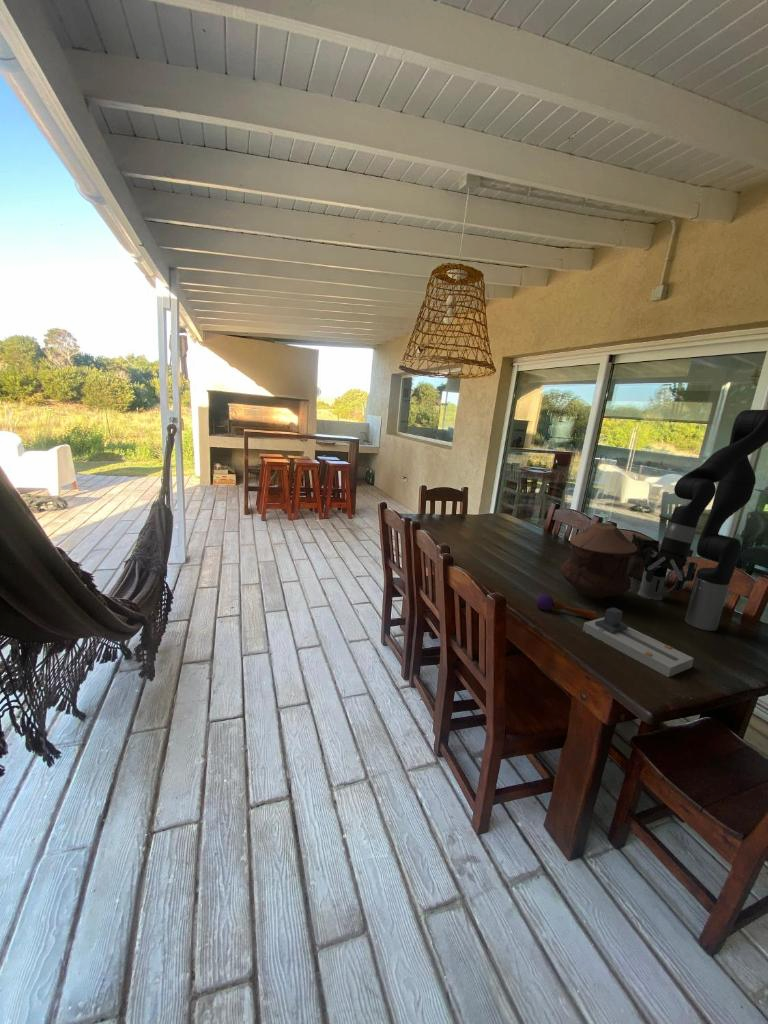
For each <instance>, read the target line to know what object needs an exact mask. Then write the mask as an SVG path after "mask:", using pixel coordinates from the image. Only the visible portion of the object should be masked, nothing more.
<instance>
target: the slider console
mask: <svg viewBox="0 0 768 1024" xmlns="http://www.w3.org/2000/svg"><path fill="white" fill-rule="evenodd" d="M604 618H605V616H604V617H601V618H597V619H596V618H595V620H589V621H585V622H584V623H583V627H582V632H584V631H585V632H584V633H586V634H588V635H589V634H590V635H589V636H591V635H592V637H594V638H595V639H597V640H599V641H600V640H601V642H602V641H603V642H602V643H603V644H606V645H608V646H609V647H612V648H613V649H615V650H617V651H619V652H621V653H623V654H624V655H626V656H628V657H630V658H632V659H633V660H635V661H637V662H640V663H641V664H643V665H645V666H646V667H648V668H650V669H652V670H654V671H656V672H657V673H659V674H661V675H663V676H664V677H667V678H670V677H673V676H675V675H677V674H679V673H680V674H681V672H684V671H686V670H689V669H691V668H692V667H693V663H694V657H693V656H690V655H688V654H685V653H684V652H682V651H679V650H678V649H675V648H674V647H673V646H671V645H669V644H665V643H663V642H661V641H659V640H657V639H655V638H652V637H650V636H648V635H647V634H644V633H642V632H640V631H637V630H636V629H634V628H631V626H630V627H629V626H628V629H625V630H621V631H618V632H615V633H610V632H609V631H607V630H605V629H603V628H601V627H599V626H597V625H595V622H597V621H600V620H604Z"/></svg>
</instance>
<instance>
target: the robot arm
mask: <svg viewBox="0 0 768 1024" xmlns="http://www.w3.org/2000/svg"><path fill="white" fill-rule="evenodd" d="M767 443H768V409H744V410H742V411H740V412H739V413H738V414H737V416H736V418H735V420H734V422H733V425H732V429H731V434H730V440H729V444H728V445H725V446H724V447H722V448H720V449H718V450H716V451H715V452H714V453H713V454H711V455H710V456H709V457H708V458H707V459H706V460H705V461H704V462H703V463H702V464H701V465H700V466H698V467H696V468H694V469H692V470H691V471H690V472H687V473H686V474H685V475H683V476H681V477H680V478H679V479H678V480H677V482H676V483H675V484H674V488H673V490H674V494H675V496H677V497H678V498H679V499H683V500H689V501H690V502H689V503H688V504H687V505H678V506H676V507H675V508H674V509H673V511H672V514H671V517H670V520H669V523H668V525H667V527H666V529H665V532H664V536H663V538H662V542H661V545H660V546H659V552H658V553H657V552H655V551H653V550H648V552H647V555H646V557H645V560H644V562H643V566H644V567H646V568H647V569H648V571H647V574H646V577H645V578H646V581H647V582H651V581H652V579H653V576H654V573H655V572H654V570H656V569H657V568H659V567H661V566H662V567H663V568H668V569H667V570H668V571H669V570H670V571H674V572H675V573H676V574H677V575H676V574H675V573H674V574H675V575H676V578H677V577H678V579H679V580H677V579H676V580H677V583H676V582H675V583H676V586H675V588H674V589H673V591H674V592H676V593H679V592H682V590H683V589H684V587H685V583H686V582H693V586H692V590H691V594H690V599H689V603H688V606H687V611H686V615H685V619H684V622H686V623H687V624H688V625H690V626H691V627H694V628H696V629H699V630H703V631H709V632H715V631H717V630H718V628H719V627H718V626H719V624H720V619H721V616H722V613H723V608H724V606H725V605H724V604H725V601H726V598H727V593H728V589H729V586H730V582H731V581H732V580H731V579H732V577H733V575H734V573H735V568H736V567H737V563H738V560H739V559H740V553H741V552H742V551H741V550H742V542H741V541H740V540H739V539H738V538H736V537H731V536H727V535H724V534H720V530H721V528H722V527H723V524H724V523H725V522H726V521H727V520H728V519H729V518H730V517H732V516H733V515H734V514H735V513H737V512H738V511H739V510H741V509H742V508H744V507H745V505H747V504H748V503H749V502H750V500H751V499H752V498H751V497H752V495H753V492H754V489H755V486H756V481H757V478H756V474H755V470H754V468H753V467H752V463H751V462H750V460H749V456H750V455H751V454H753V453H754V452H756V451H757V450H758V449H760V448H762V447H763V446H764V445H766V444H767ZM715 483H717V486H716V484H715ZM712 501H713V502H712ZM711 502H712V505H711V508H710V511H709V513H708V514H709V515H708V516H707V519H706V521H705V524H704V525H703V526H704V527H703V529H702V531H701V533H700V536H699V539H698V542H697V545H696V553H697V555H698V556H699V557H701V558H703V559H706V560H710V561H713V562H718V563H717V565H716V567H700V568H698V563H697V562H693V561H688V560H687V559H688V556H689V553H690V550H691V547H692V544H693V541H694V538H695V534H696V529H697V527H698V523H699V520H700V517H701V516H702V515H703V513H704V512H705V510H706V509H707V508H708V506H709V504H710V503H711ZM655 556H657V558H658V561H656V562H654V563H653V564H652V565H651V562H652V560H653V558H654V557H655ZM684 566H686V569H687V571H686V574H685V571H684V569H683V567H684ZM697 568H698V569H697Z"/></svg>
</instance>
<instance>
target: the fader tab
mask: <svg viewBox="0 0 768 1024" xmlns="http://www.w3.org/2000/svg"><path fill="white" fill-rule="evenodd" d="M622 616H623V610H621V609H618V608H616V607H609V608H607V609H606V610H605V614H604V617H605V618H604V620H600V621H597V622H595V625H597V626H599V627H601V628H603V629H605V630H607V631H609V632H610V633H615V632H618V631H621V630H625V629H628V627H629V626H628V625H627V624H625V623H623V622H622Z"/></svg>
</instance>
